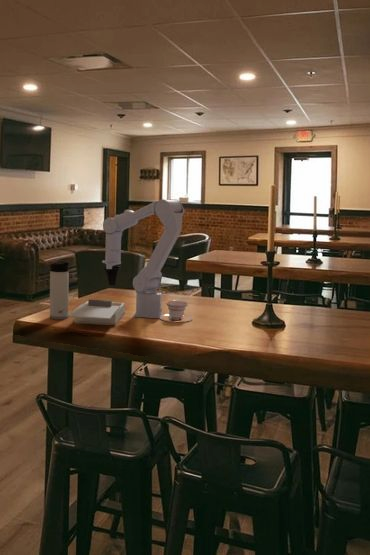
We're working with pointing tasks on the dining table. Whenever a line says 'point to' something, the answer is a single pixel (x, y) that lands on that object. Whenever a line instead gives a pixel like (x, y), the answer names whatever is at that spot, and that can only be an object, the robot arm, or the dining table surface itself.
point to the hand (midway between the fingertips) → (112, 285)
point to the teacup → (176, 310)
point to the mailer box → (112, 321)
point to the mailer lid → (95, 310)
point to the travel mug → (59, 290)
